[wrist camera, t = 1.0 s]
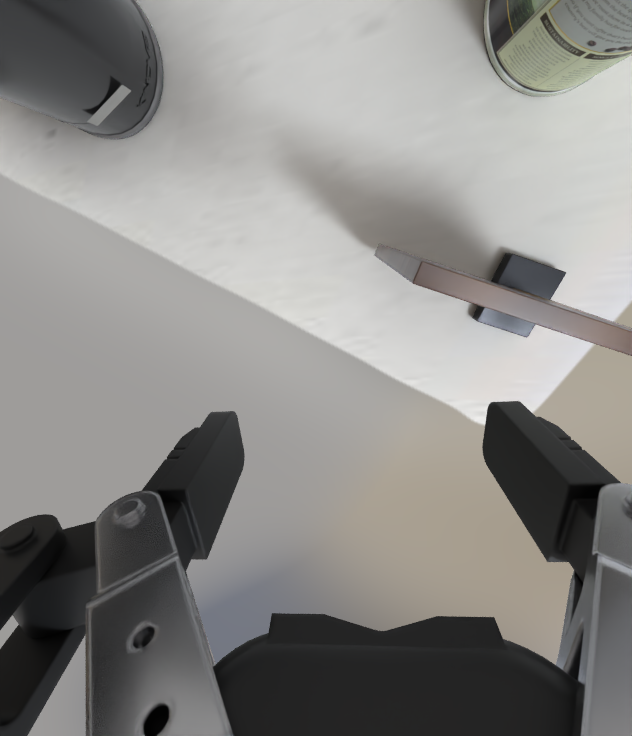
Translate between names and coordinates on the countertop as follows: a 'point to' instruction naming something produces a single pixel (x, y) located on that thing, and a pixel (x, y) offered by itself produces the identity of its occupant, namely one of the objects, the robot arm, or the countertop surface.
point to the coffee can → (555, 41)
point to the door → (508, 300)
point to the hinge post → (525, 278)
